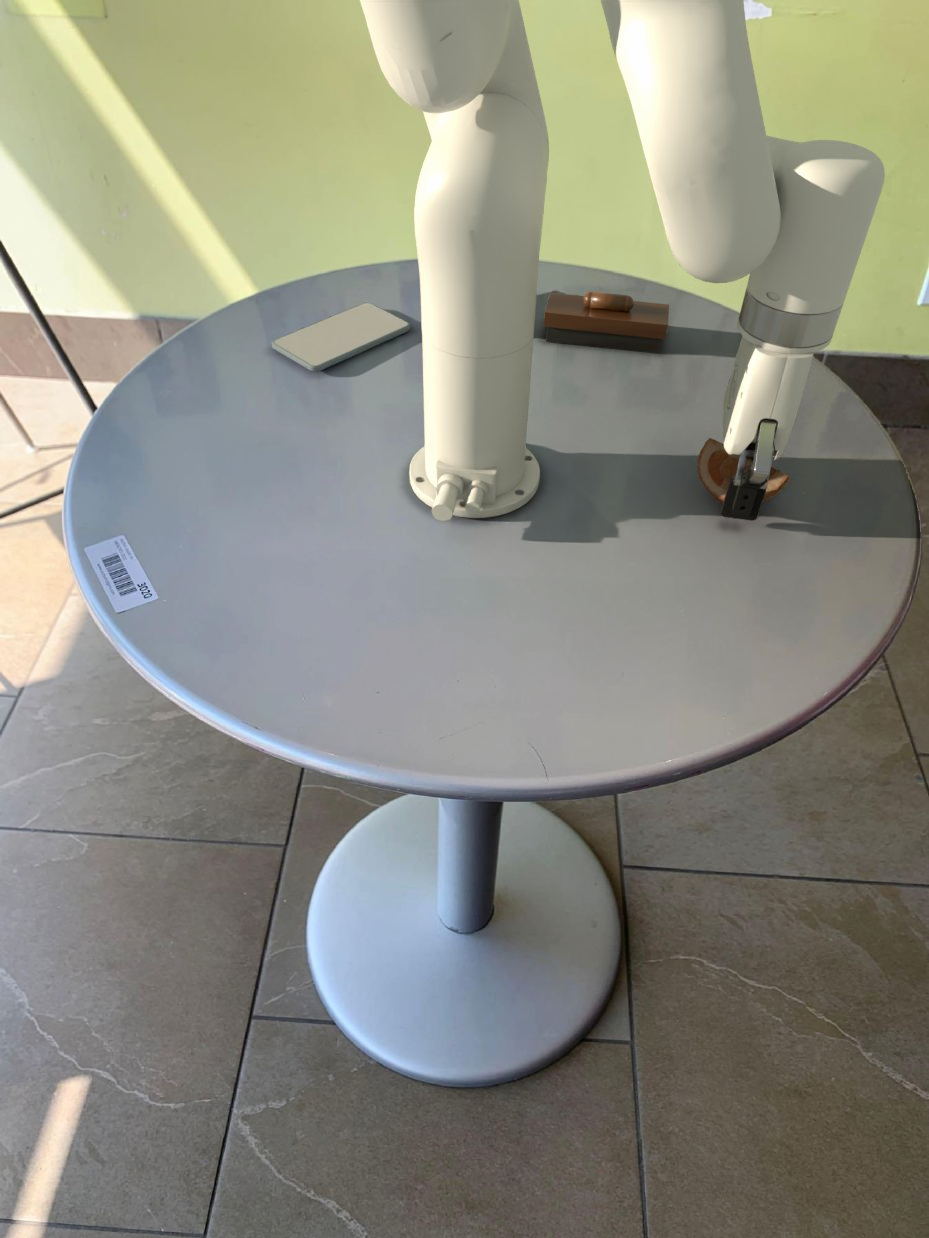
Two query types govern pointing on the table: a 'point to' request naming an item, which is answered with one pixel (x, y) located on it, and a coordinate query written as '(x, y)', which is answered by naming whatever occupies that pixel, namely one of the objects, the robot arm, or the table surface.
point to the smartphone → (340, 336)
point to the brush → (606, 321)
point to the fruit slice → (730, 471)
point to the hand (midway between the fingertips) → (737, 488)
